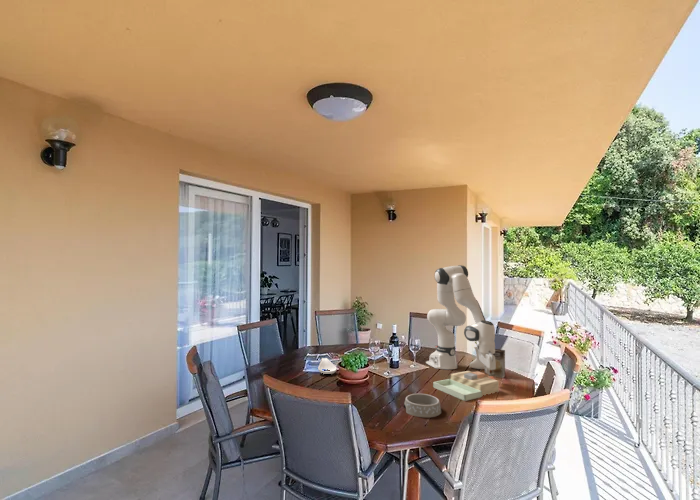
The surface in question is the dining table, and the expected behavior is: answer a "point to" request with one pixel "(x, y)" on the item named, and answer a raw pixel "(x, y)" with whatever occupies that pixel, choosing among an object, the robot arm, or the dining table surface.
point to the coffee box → (499, 364)
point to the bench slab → (477, 382)
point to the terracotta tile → (479, 374)
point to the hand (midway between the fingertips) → (487, 373)
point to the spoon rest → (326, 366)
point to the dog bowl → (422, 405)
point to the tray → (457, 389)
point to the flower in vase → (477, 361)
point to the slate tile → (470, 376)
